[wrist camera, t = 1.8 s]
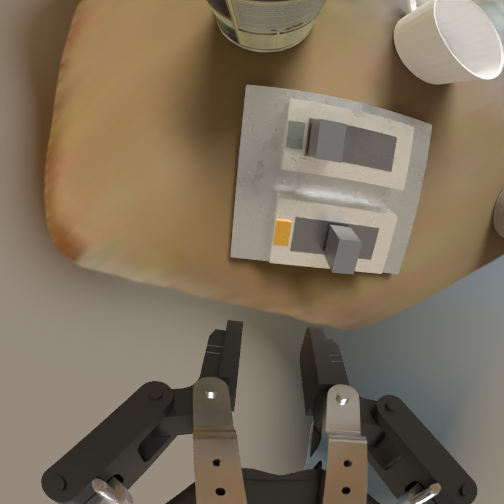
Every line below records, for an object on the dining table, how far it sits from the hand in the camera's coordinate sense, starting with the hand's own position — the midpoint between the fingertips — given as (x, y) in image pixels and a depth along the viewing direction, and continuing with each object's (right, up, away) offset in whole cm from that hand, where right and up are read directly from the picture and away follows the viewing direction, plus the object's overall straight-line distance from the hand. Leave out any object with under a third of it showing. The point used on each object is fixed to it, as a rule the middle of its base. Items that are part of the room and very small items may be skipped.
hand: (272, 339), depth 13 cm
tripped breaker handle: (+7, +5, +13) cm, 16 cm away
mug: (+18, +29, +8) cm, 35 cm away
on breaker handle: (+5, +14, +9) cm, 17 cm away
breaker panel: (+8, +11, +16) cm, 21 cm away
